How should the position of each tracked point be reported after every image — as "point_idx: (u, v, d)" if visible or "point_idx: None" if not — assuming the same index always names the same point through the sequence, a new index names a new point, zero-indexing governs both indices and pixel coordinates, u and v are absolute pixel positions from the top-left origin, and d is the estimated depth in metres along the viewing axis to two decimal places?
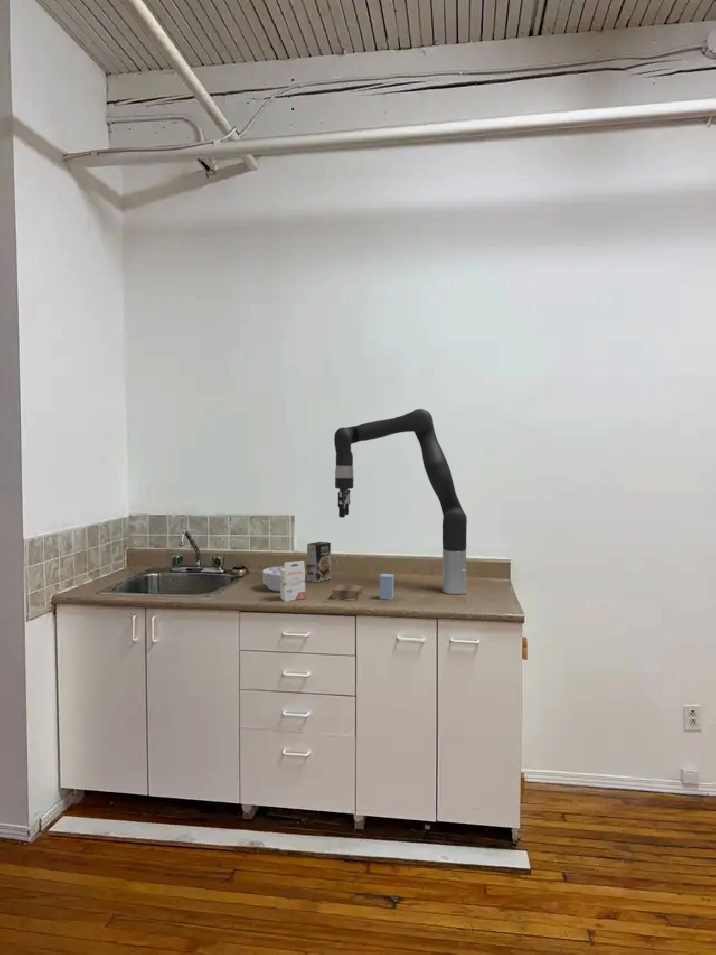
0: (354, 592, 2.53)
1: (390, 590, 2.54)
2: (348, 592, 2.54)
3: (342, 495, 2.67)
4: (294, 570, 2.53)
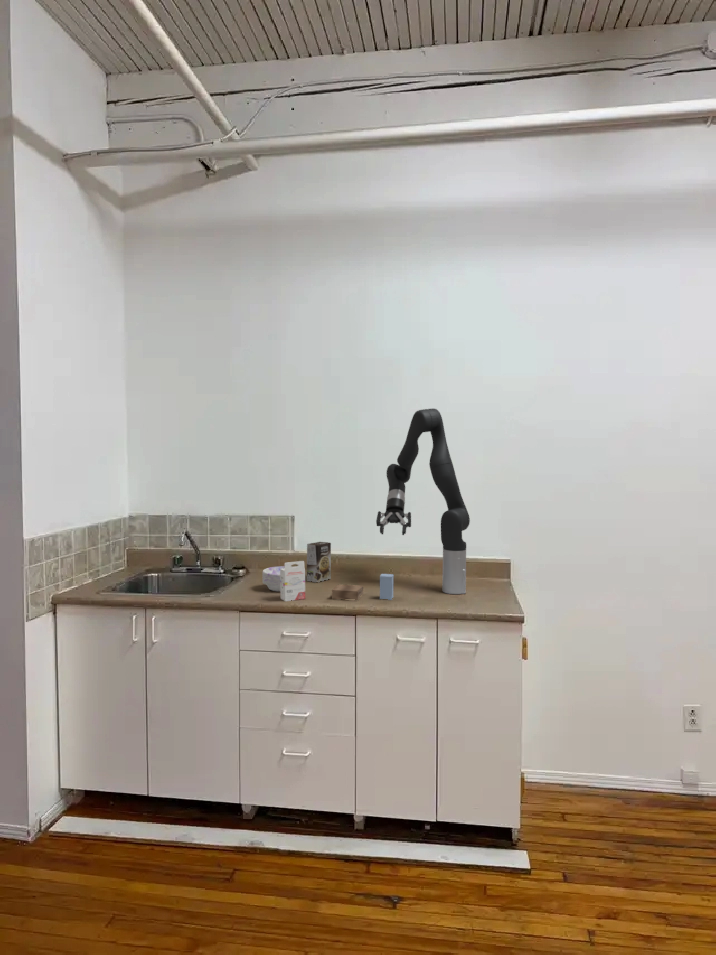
0: (354, 592, 2.53)
1: (390, 590, 2.54)
2: (348, 592, 2.54)
3: None
4: (294, 570, 2.53)
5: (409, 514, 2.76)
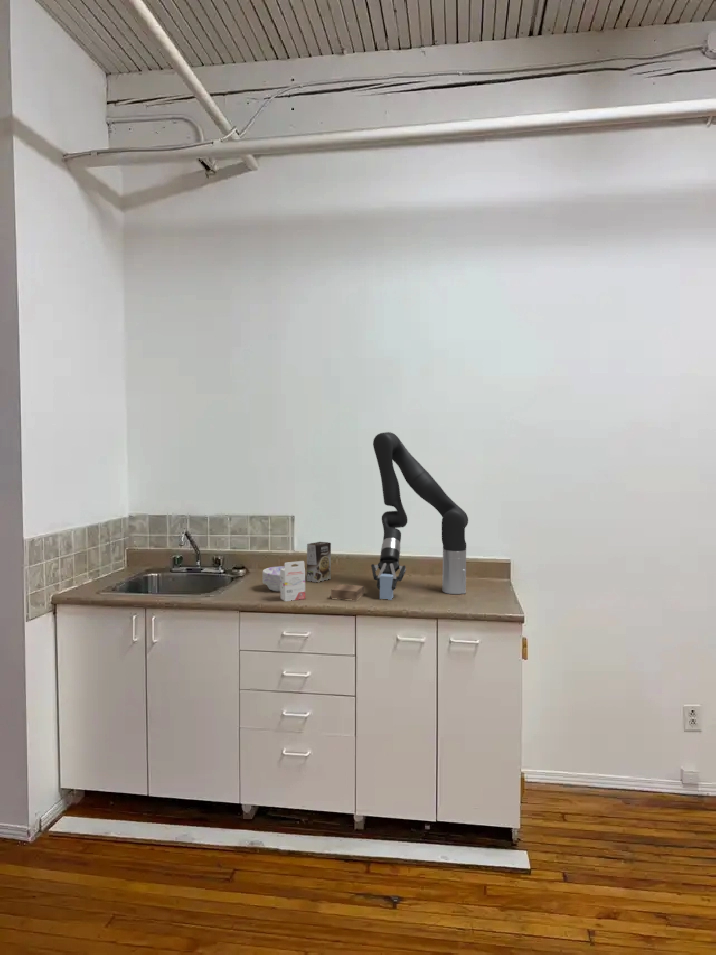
0: (352, 592, 2.53)
1: (390, 590, 2.54)
2: (347, 592, 2.54)
3: None
4: (294, 570, 2.53)
5: (403, 568, 2.59)
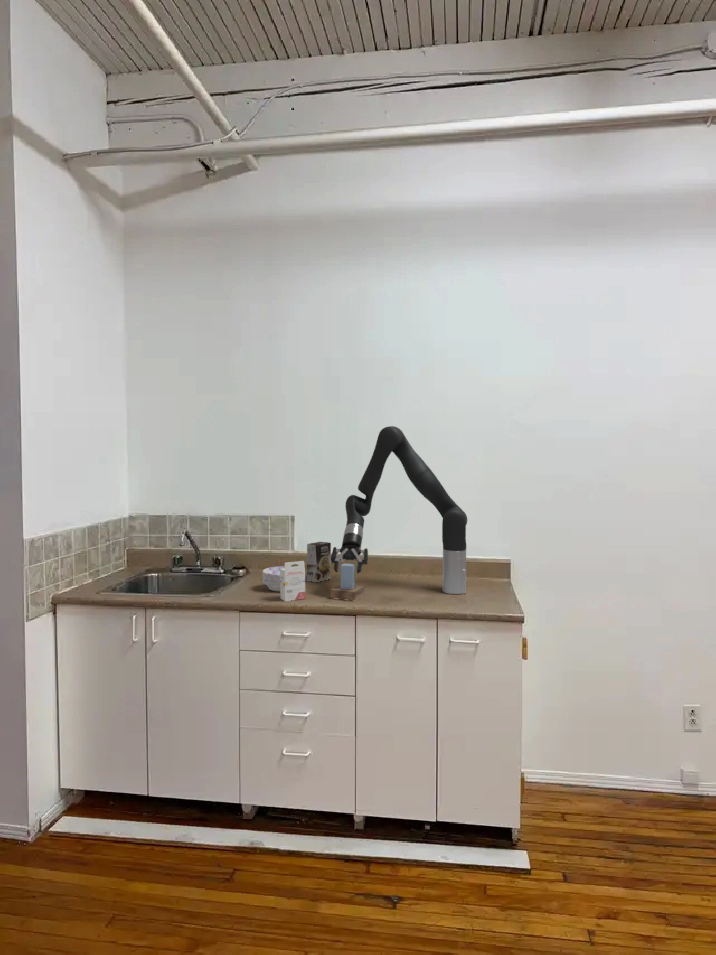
0: (351, 592, 2.53)
1: (351, 579, 2.56)
2: (345, 592, 2.54)
3: None
4: (294, 570, 2.53)
5: (365, 550, 2.61)
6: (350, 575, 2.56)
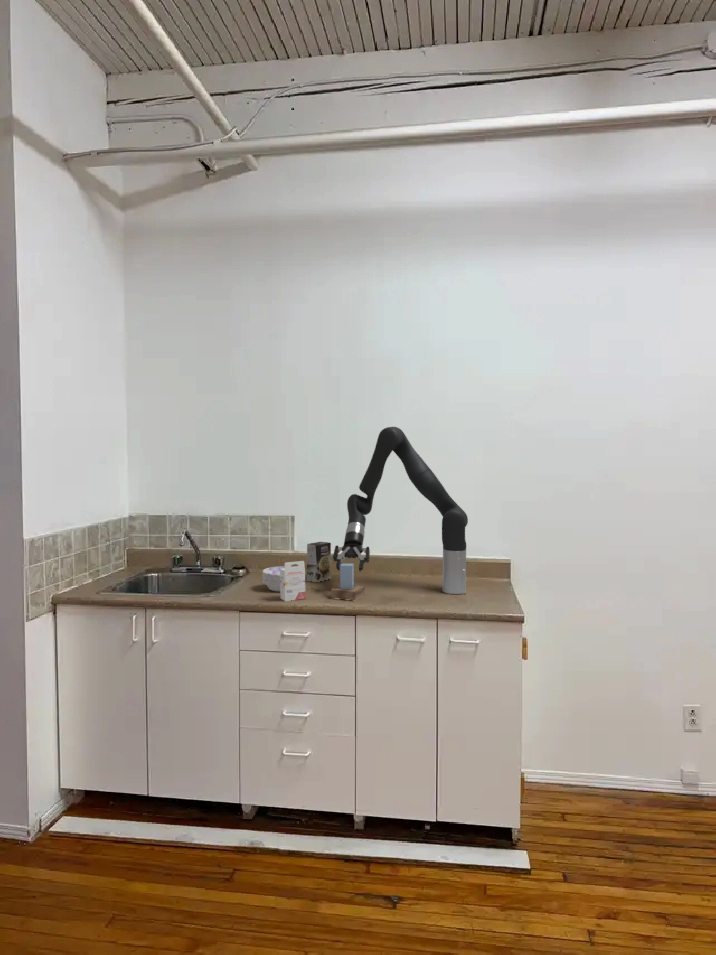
0: (351, 592, 2.53)
1: (350, 579, 2.56)
2: (345, 592, 2.54)
3: None
4: (294, 570, 2.53)
5: (367, 549, 2.65)
6: (350, 575, 2.56)
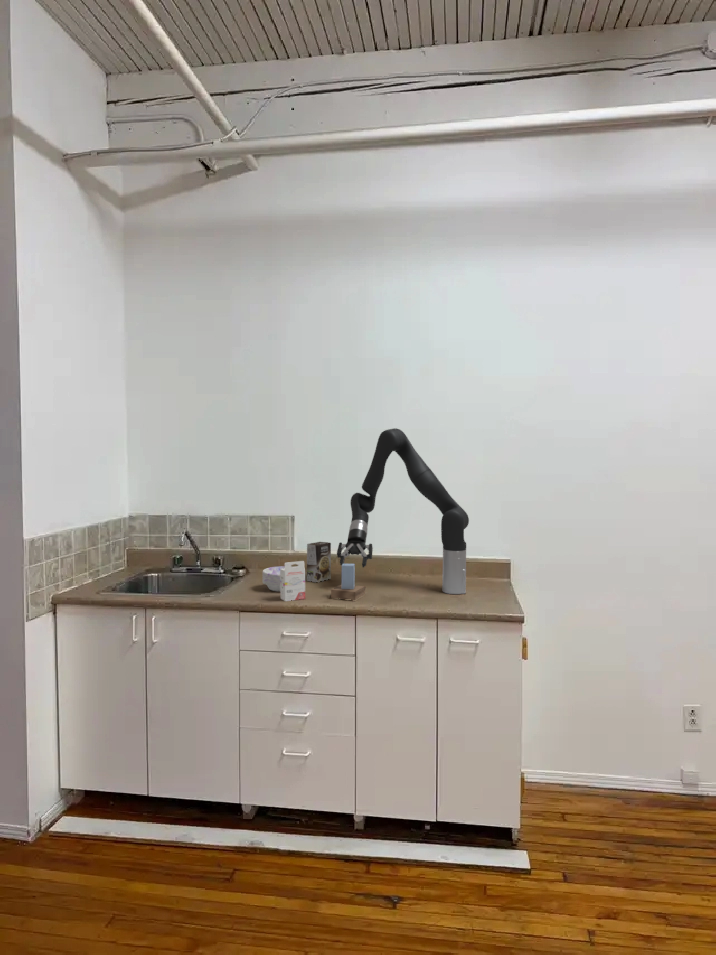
0: (351, 592, 2.53)
1: (352, 579, 2.56)
2: (346, 592, 2.54)
3: None
4: (294, 570, 2.53)
5: (370, 546, 2.72)
6: (351, 575, 2.56)
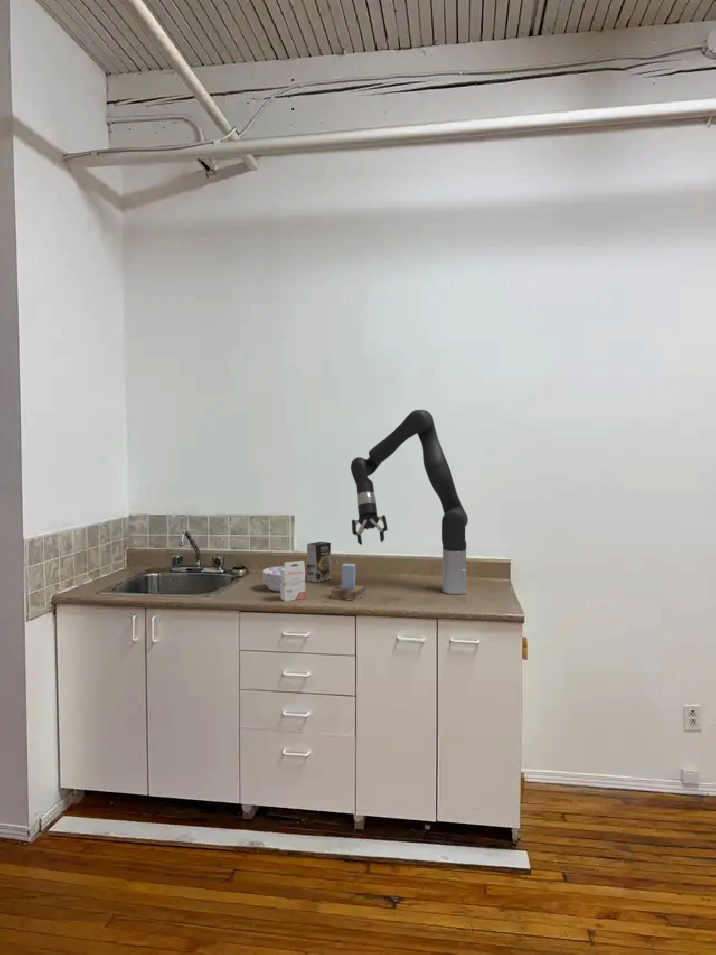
0: (351, 592, 2.53)
1: (352, 579, 2.56)
2: (346, 592, 2.54)
3: None
4: (294, 570, 2.53)
5: (383, 518, 2.72)
6: (351, 575, 2.56)
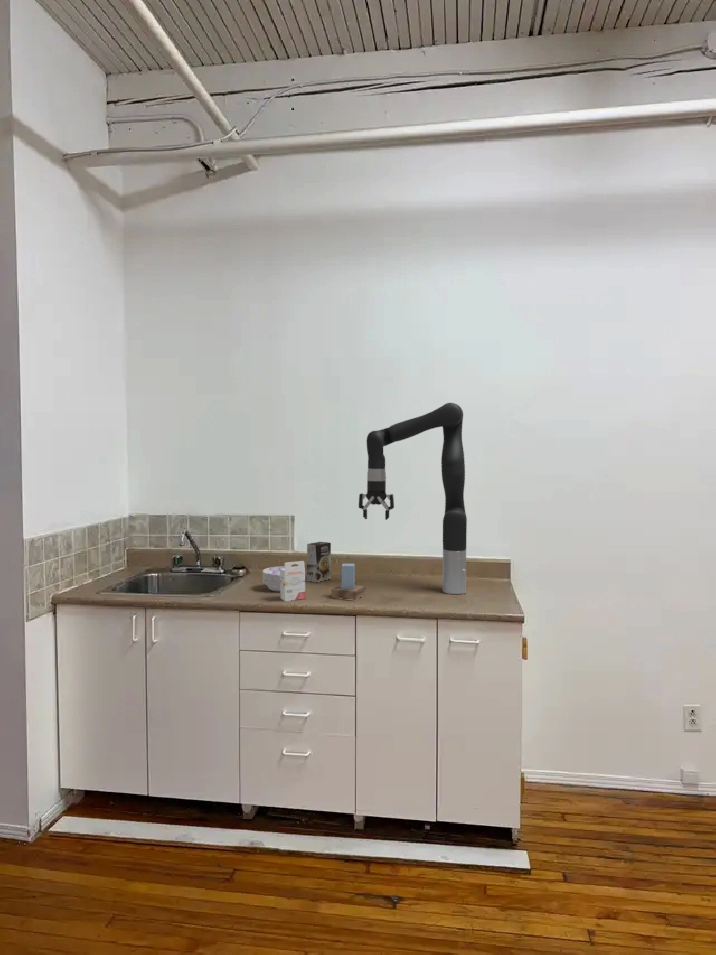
0: (352, 592, 2.53)
1: (352, 579, 2.56)
2: (346, 592, 2.54)
3: None
4: (294, 570, 2.53)
5: (391, 497, 2.71)
6: (351, 575, 2.56)
